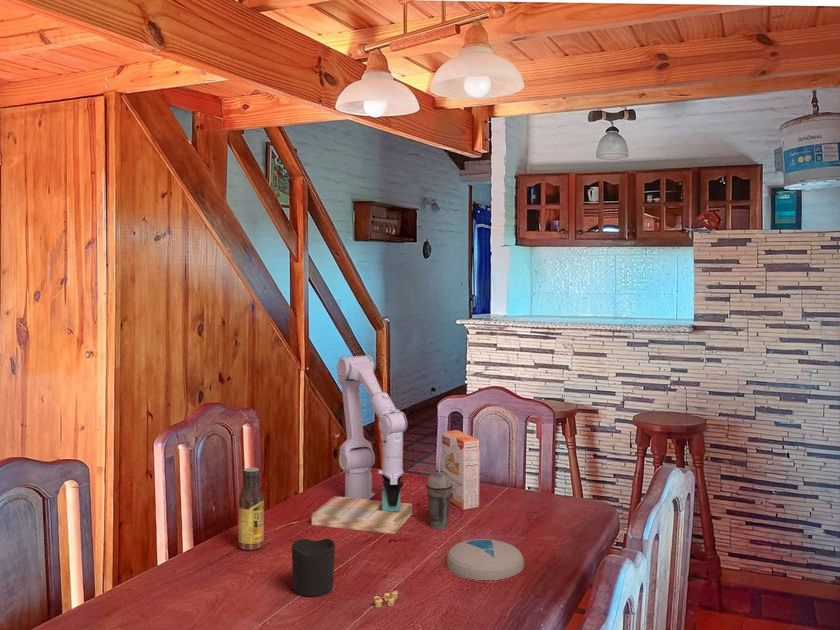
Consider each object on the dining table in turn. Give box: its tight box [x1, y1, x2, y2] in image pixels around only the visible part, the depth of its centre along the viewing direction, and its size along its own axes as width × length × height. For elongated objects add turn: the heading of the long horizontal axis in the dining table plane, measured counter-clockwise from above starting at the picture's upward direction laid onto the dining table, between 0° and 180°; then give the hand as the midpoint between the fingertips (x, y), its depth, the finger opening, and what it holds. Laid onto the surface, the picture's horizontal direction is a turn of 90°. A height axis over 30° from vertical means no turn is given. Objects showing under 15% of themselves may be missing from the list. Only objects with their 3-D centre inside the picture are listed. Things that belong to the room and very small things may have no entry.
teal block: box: [381, 484, 401, 512], centre depth 208 cm, size 5×5×6 cm
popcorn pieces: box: [373, 589, 398, 608], centre depth 156 cm, size 5×5×2 cm
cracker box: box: [441, 429, 481, 511], centre depth 222 cm, size 14×6×21 cm, turn 25°
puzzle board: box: [311, 495, 413, 535], centre depth 207 cm, size 24×16×3 cm
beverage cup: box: [425, 455, 453, 531], centre depth 201 cm, size 7×7×20 cm
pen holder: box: [291, 538, 336, 598], centre depth 162 cm, size 9×9×10 cm
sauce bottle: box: [237, 467, 265, 551], centre depth 186 cm, size 7×6×20 cm
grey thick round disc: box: [446, 538, 525, 581], centre depth 176 cm, size 18×18×5 cm
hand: (392, 502), depth 209 cm, fingers closed on teal block, 5 cm apart
